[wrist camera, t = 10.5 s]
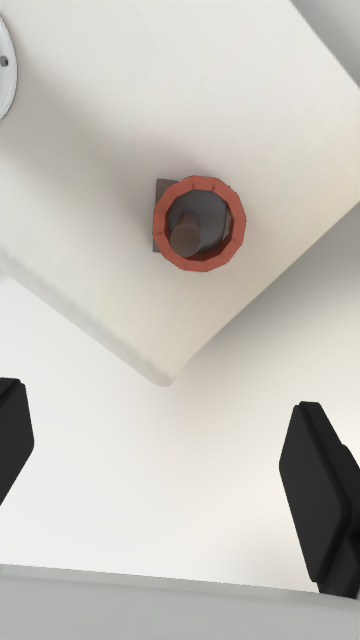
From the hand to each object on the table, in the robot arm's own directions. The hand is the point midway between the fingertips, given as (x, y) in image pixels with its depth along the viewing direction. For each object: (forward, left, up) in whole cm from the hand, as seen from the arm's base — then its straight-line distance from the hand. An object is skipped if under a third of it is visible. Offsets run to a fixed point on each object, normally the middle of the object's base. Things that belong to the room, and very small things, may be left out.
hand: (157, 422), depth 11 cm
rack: (0, +3, -30) cm, 30 cm away
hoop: (+1, +3, -29) cm, 29 cm away
